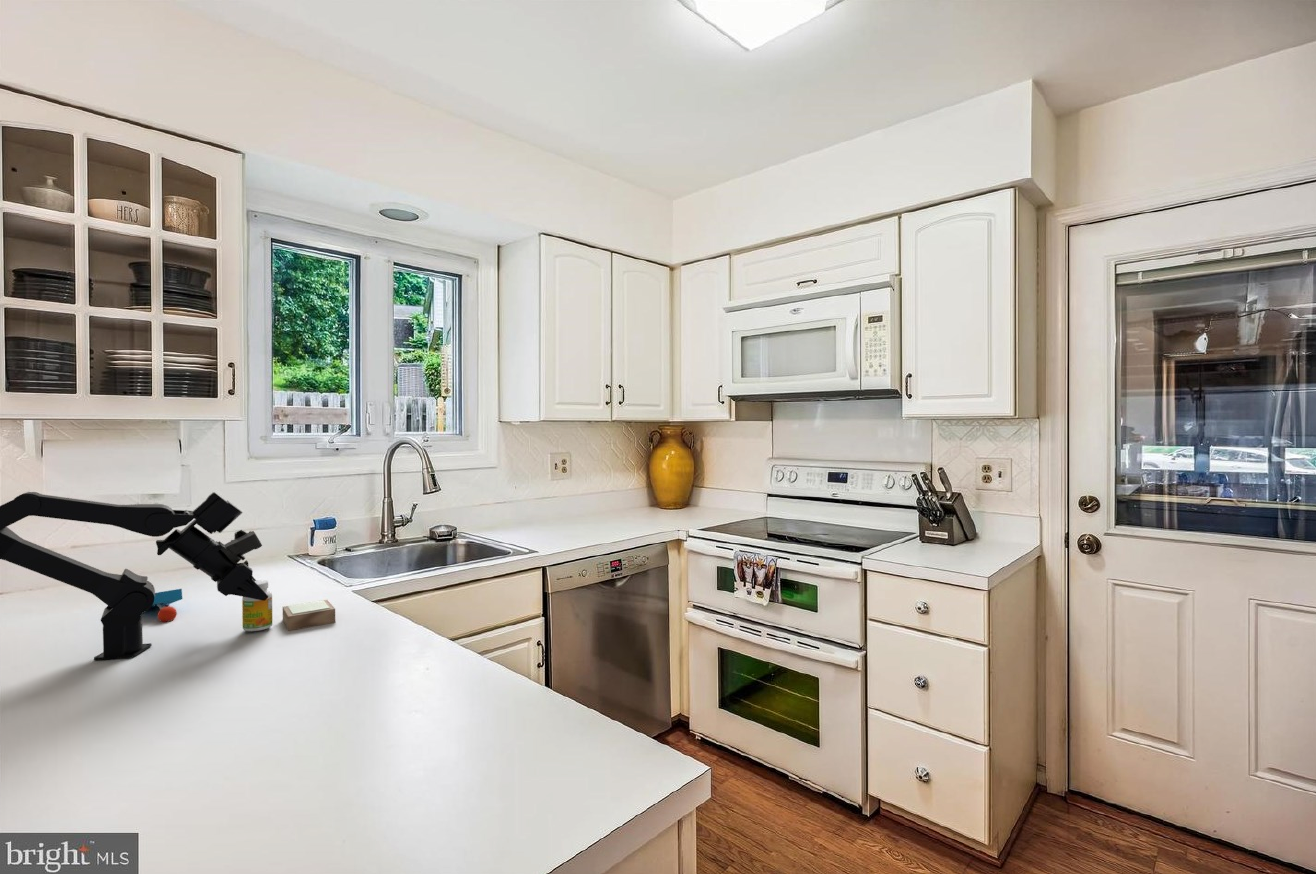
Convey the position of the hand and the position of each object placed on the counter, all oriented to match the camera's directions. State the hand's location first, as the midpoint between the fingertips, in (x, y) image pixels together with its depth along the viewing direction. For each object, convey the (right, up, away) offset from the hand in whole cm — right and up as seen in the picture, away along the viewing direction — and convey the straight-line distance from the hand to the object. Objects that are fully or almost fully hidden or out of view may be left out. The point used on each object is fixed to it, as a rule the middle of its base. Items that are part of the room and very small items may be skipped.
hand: (265, 595), depth 134 cm
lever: (-32, -7, +11) cm, 35 cm away
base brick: (+6, -7, +5) cm, 11 cm away
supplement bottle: (-1, -7, -1) cm, 7 cm away
